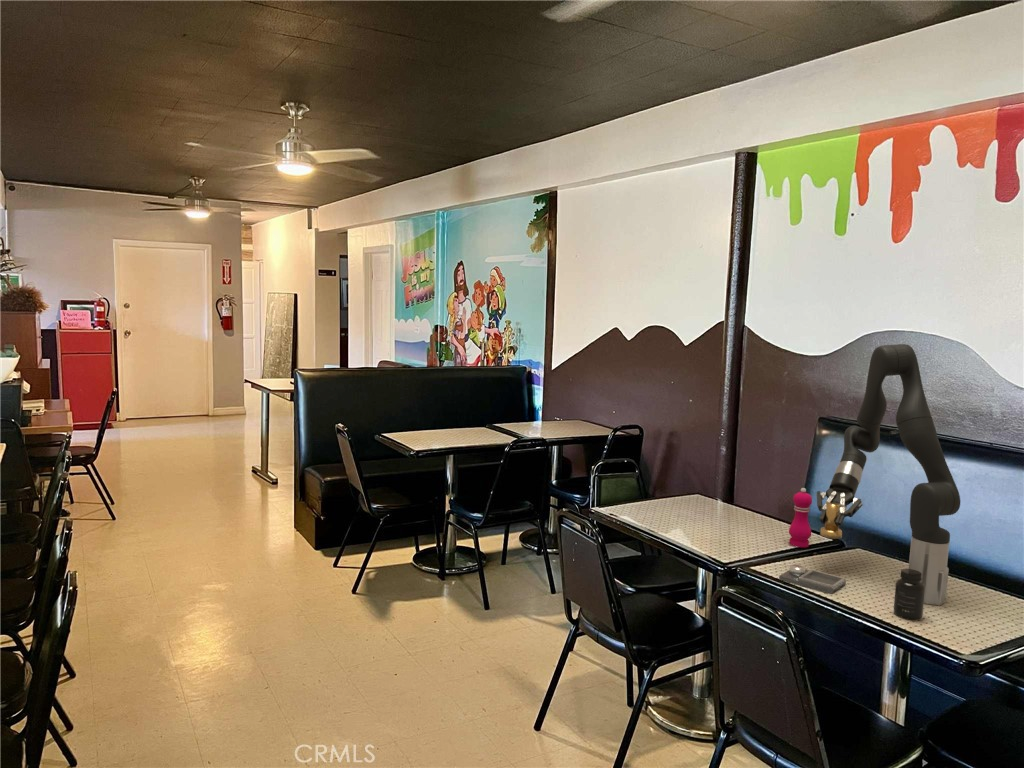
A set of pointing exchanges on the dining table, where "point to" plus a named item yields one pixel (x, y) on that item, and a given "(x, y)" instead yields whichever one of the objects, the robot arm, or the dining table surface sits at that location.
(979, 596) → the dining table surface
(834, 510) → the brass knob
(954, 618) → the dining table surface
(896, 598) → the supplement bottle
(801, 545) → the pepper mill
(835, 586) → the carrier
